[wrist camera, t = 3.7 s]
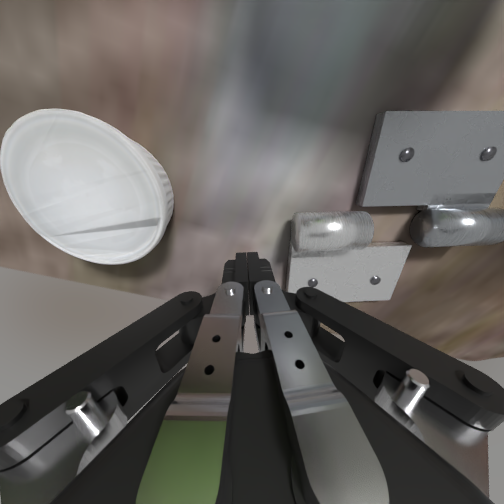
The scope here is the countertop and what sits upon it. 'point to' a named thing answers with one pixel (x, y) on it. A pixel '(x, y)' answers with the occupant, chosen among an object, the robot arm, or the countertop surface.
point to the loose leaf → (342, 256)
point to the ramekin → (86, 186)
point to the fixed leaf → (439, 173)
